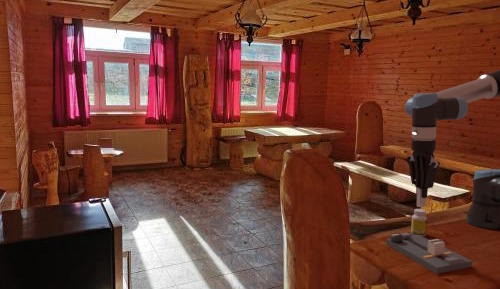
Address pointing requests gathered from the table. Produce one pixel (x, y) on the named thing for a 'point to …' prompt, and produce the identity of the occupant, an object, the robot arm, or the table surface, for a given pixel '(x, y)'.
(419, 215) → the supplement bottle
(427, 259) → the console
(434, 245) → the fader knob
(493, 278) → the table surface
